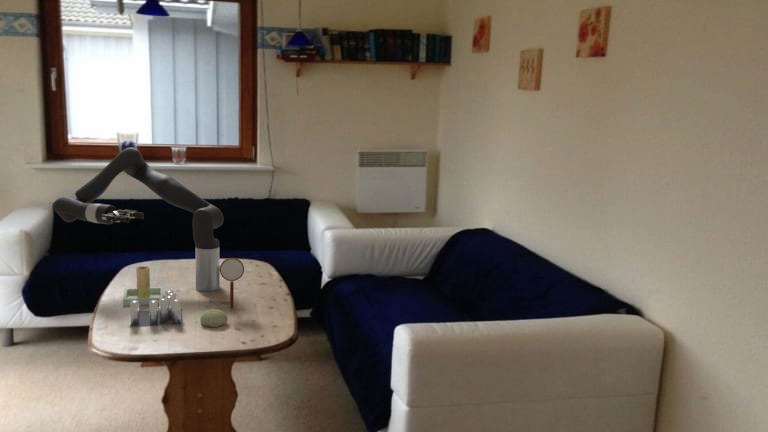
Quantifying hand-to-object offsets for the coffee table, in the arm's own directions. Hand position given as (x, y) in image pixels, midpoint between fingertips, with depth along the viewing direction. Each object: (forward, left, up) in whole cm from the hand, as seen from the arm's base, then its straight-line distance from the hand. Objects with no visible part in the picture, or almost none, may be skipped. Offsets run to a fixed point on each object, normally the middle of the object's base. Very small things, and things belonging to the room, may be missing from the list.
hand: (136, 217), depth 264 cm
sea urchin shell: (-26, +40, -30) cm, 57 cm away
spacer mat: (-7, +32, -30) cm, 44 cm away
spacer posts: (-7, +33, -29) cm, 45 cm away
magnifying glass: (-33, +27, -30) cm, 52 cm away
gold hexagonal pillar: (-2, +10, -29) cm, 31 cm away
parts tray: (-2, +10, -30) cm, 32 cm away
